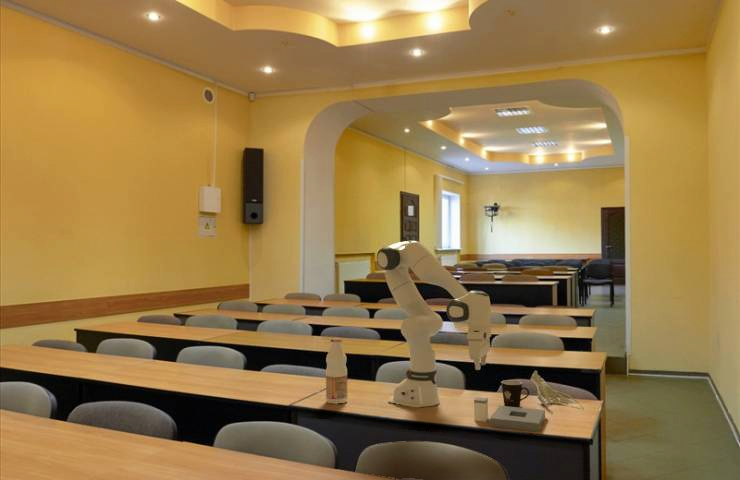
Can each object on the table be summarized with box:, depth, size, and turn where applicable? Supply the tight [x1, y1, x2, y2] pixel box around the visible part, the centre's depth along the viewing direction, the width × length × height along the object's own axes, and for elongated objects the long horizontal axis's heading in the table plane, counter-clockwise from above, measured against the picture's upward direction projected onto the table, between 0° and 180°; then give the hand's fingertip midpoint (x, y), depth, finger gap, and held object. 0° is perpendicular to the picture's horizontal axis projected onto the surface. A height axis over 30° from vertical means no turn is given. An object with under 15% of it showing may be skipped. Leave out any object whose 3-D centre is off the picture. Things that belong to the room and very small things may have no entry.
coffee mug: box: [500, 379, 530, 408], centre depth 243 cm, size 12×9×10 cm
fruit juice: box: [325, 337, 348, 405], centre depth 255 cm, size 9×9×28 cm
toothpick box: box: [473, 396, 489, 423], centre depth 226 cm, size 4×4×8 cm
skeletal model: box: [530, 370, 584, 414], centre depth 246 cm, size 16×9×25 cm
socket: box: [489, 405, 546, 433], centre depth 222 cm, size 18×18×3 cm
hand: (480, 367), depth 226 cm, fingers open, 8 cm apart
